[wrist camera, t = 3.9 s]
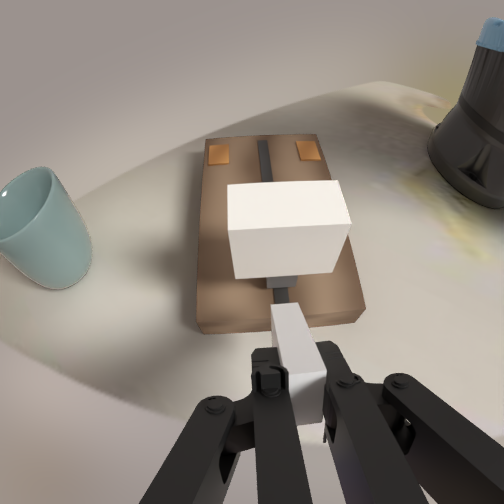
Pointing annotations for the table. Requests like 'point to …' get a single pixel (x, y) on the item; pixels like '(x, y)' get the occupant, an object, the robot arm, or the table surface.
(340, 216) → the fader knob
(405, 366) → the table surface
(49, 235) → the cup
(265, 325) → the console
